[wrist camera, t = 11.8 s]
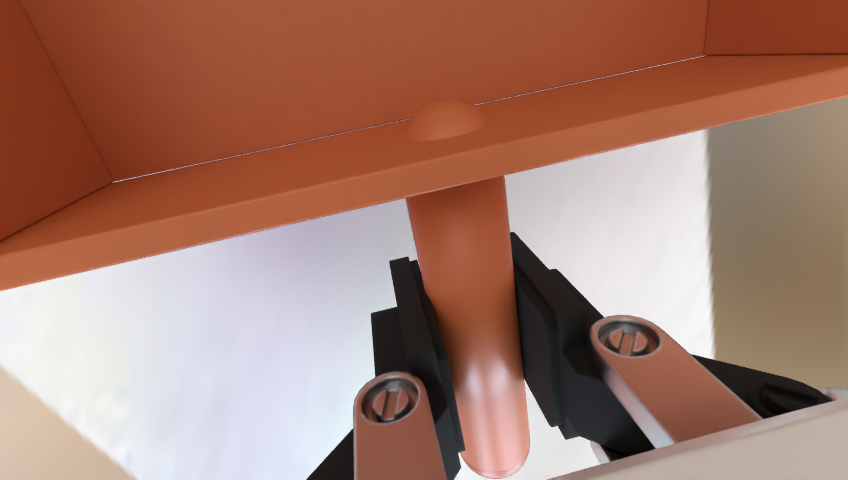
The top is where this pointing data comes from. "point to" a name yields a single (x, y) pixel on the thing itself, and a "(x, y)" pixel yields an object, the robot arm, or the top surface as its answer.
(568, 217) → the top surface
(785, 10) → the dustpan
